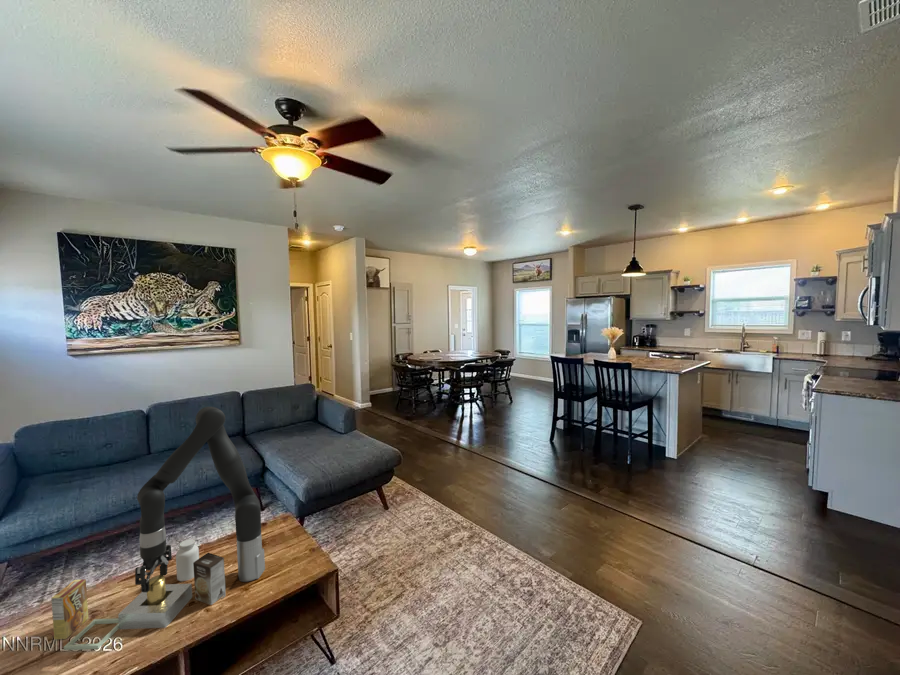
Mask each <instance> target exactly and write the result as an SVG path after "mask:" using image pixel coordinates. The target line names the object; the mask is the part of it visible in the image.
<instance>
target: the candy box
mask: <svg viewBox="0 0 900 675" xmlns="http://www.w3.org/2000/svg"><path fill="white" fill-rule="evenodd" d="M87 590H88V589H87V579H85V578H84V579H83V578H82V579H73V581H71V582H69V583H68V585H66V586H65V587H63V588H62V589H61V590H60V591H58V592H57V593H56V594H55V595H53V596H51V599H50V600H51V613H52V614H51V615H52V621H53V622H52V627H53V639H54V640H58V641H59V640H66V639H68V638H69V637H70V636H71V635H72V634H74V633H75V632H76V631H77V630H78V628H80V627H81V626H82V625H83V624H84V623H85V622H87V621H88V620H89V608H88V607H89V606H88V593H87V592H88V591H87Z"/></svg>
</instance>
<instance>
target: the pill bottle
mask: <svg viewBox="0 0 900 675" xmlns="http://www.w3.org/2000/svg"><path fill="white" fill-rule="evenodd" d="M195 542H196V540H195V539H192V538H188V539H185V540H183V541H181V542H180V543H179V546H178V547H179V549H178V550H177V551H176V554H175V565H176V566H175V568H176V580H177V581H179V582H186V581H189V580H192V579H194V566H193V563H194V562H195V561H196V560H198V559H199V558H200V549H199V546H198V545H197V544H196V543H195Z"/></svg>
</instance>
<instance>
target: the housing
mask: <svg viewBox="0 0 900 675" xmlns="http://www.w3.org/2000/svg"><path fill="white" fill-rule="evenodd" d="M165 586H166V599H165V600H164V601H163V602H162V603H161V604H160V605H153V606H148V603H147V592H142V591H141V592H140V593H139V594H138V595H137V596H136V597H135V598H134V599H133V600H132V601H130V603H129V604H127V605H126V607H124V608H123V609H122V610H121V611H120V612H118V617H117V618H119V629H118V630H138V629H140V630H141V629H158V628H159V629H161V628H162V629H164V628H165V629H166V628H167V627H168V626H169V624H171V623H172V622H173V620H174V619H175V618H176V616H178V615H179V613H180V612H181V611H182V610H183V609H184V608H185V606H186V605H187V604H188V603H189V602H190V601H191V599H192V598H193V588H192V586H193V585H192V583H172V584H171V583H165Z"/></svg>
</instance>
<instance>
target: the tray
mask: <svg viewBox="0 0 900 675" xmlns="http://www.w3.org/2000/svg"><path fill="white" fill-rule="evenodd" d="M102 624H103V625H106V624H110V625H111V624H116V625H115V626H114V627H113V628H112V629H111V630H109V632H108V633H107V634H106V635H105V636H103V637H102V639H101V640H99V641H98V642H97V643H78V644H77V643H76V642H77V641H78V640H79V639H81V637H83V636H84V635H85V634H86V633H87V632H88V631H89V630H90V629H92V627H94V626H95V625H102ZM118 630H120V629H119V618H118V617H117V618H94V619H93V620H92V621H91V622H89V624H88V625H86V626H85V627H84V628H83V629H81V631H79V633H78V634H76V635H75V636H74V637H73V638H72V639H70V641H69V642H67V643H66V644H65V645H64V646H63V651H73V650H74V651H77V650H99V649H100V648H101V647H102V646H103V645H104V644H105V643H106V642H107V641H108V640H109V639H110V638H111V637H112V636H113V635H114V634H115V633H116V632H117V631H118Z"/></svg>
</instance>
